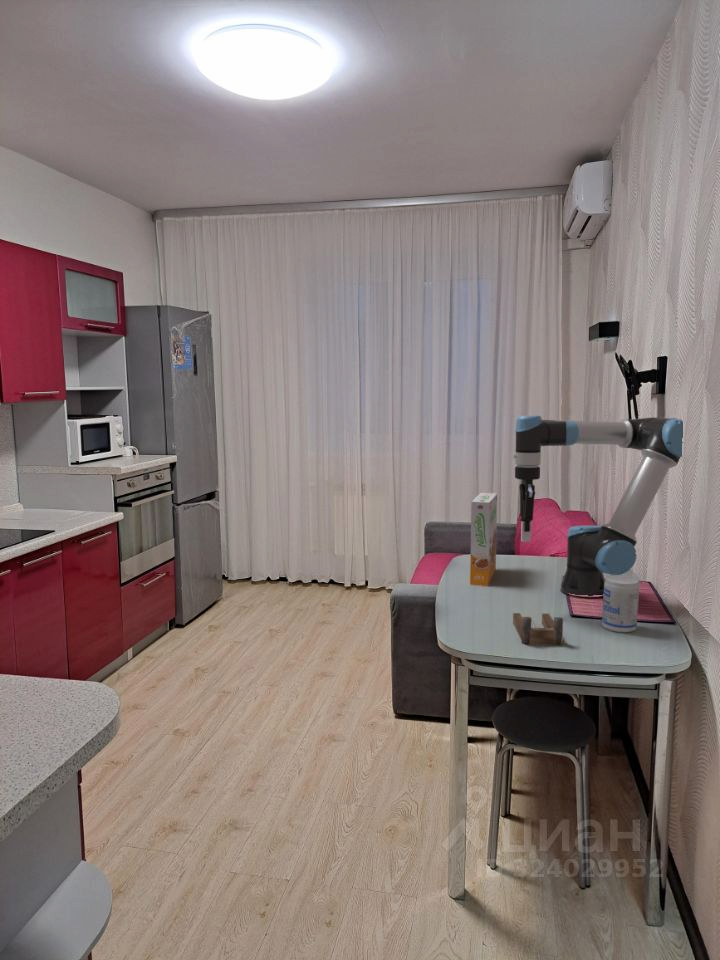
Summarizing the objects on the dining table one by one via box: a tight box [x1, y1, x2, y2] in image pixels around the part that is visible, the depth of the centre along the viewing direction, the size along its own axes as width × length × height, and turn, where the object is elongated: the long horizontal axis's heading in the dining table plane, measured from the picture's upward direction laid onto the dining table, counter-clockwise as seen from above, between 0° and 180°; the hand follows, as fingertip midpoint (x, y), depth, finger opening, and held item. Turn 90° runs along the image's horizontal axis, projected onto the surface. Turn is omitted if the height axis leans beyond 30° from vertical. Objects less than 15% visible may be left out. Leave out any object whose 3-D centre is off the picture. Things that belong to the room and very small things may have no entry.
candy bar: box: [522, 615, 538, 628], centre depth 202 cm, size 17×4×2 cm, turn 1°
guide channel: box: [512, 612, 564, 646], centre depth 198 cm, size 11×18×7 cm, turn 177°
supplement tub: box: [601, 574, 640, 633], centre depth 202 cm, size 10×10×15 cm
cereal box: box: [469, 492, 498, 587], centre depth 256 cm, size 22×6×30 cm, turn 162°
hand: (525, 541), depth 216 cm, fingers closed
